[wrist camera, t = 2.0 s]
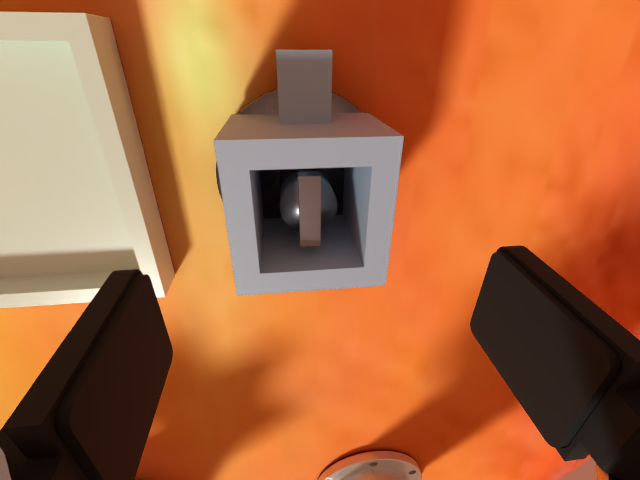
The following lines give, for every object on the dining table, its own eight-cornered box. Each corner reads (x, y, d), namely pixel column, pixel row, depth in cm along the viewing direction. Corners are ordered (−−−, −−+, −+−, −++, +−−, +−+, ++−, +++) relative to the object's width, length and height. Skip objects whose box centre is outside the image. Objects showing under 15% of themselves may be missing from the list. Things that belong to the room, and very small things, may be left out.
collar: (359, 230, 22) (385, 285, 17) (246, 236, 21) (236, 295, 16) (372, 50, 17) (414, 49, 12) (224, 49, 16) (200, 48, 11)
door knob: (373, 239, 24) (400, 290, 19) (229, 247, 23) (216, 303, 18) (387, 84, 19) (429, 97, 14) (206, 86, 18) (178, 99, 13)
